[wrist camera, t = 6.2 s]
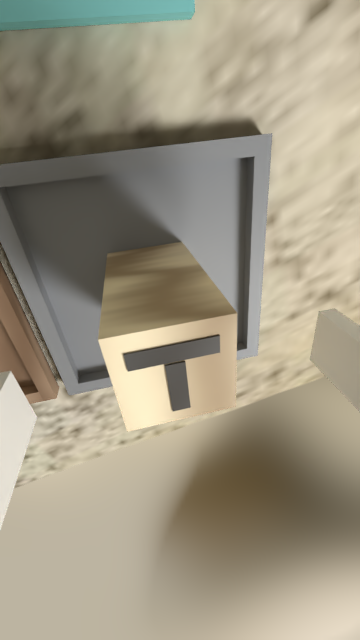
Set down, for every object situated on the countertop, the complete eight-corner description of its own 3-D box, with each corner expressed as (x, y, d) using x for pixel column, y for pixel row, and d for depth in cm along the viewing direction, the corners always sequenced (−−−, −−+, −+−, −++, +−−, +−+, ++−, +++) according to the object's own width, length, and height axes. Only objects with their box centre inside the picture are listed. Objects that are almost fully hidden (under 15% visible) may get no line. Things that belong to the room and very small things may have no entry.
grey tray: (71, 384, 23) (69, 395, 22) (-23, 167, 14) (-33, 168, 13) (251, 347, 25) (257, 355, 24) (262, 134, 16) (272, 133, 15)
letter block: (123, 318, 20) (127, 433, 12) (107, 253, 18) (97, 340, 9) (188, 306, 21) (236, 407, 12) (182, 241, 18) (237, 314, 10)
